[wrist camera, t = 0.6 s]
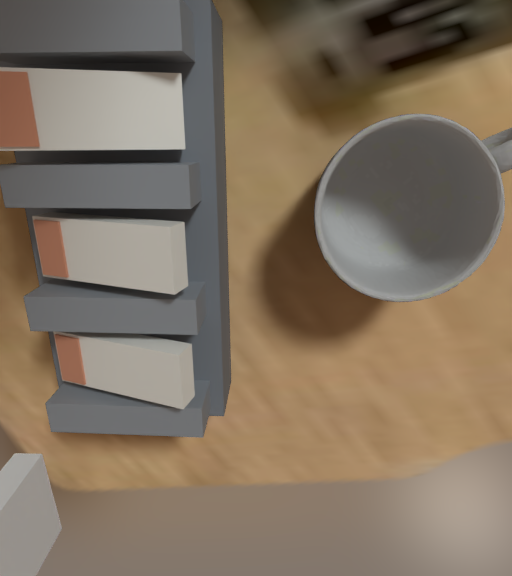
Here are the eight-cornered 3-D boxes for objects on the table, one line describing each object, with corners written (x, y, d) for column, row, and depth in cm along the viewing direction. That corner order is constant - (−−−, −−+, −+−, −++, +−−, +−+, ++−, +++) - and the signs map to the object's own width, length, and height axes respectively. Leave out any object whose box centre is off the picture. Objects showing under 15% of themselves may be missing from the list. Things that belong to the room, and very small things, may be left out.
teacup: (331, 283, 34) (345, 325, 26) (287, 152, 31) (289, 157, 23) (508, 224, 32) (580, 252, 24) (481, 76, 28) (554, 54, 21)
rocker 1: (-11, 71, 22) (-23, 66, 21) (179, 76, 24) (181, 72, 23) (5, 149, 24) (-6, 150, 22) (183, 148, 26) (185, 149, 24)
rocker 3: (70, 321, 30) (51, 331, 29) (191, 343, 27) (177, 356, 26) (78, 369, 32) (60, 381, 30) (194, 395, 29) (181, 410, 27)
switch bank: (31, 24, 29) (-65, -20, 21) (222, 21, 28) (198, -26, 20) (87, 376, 38) (36, 440, 30) (231, 381, 37) (217, 447, 30)
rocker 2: (51, 212, 28) (29, 216, 26) (184, 221, 24) (168, 227, 23) (61, 269, 29) (41, 276, 27) (188, 286, 26) (173, 295, 24)
